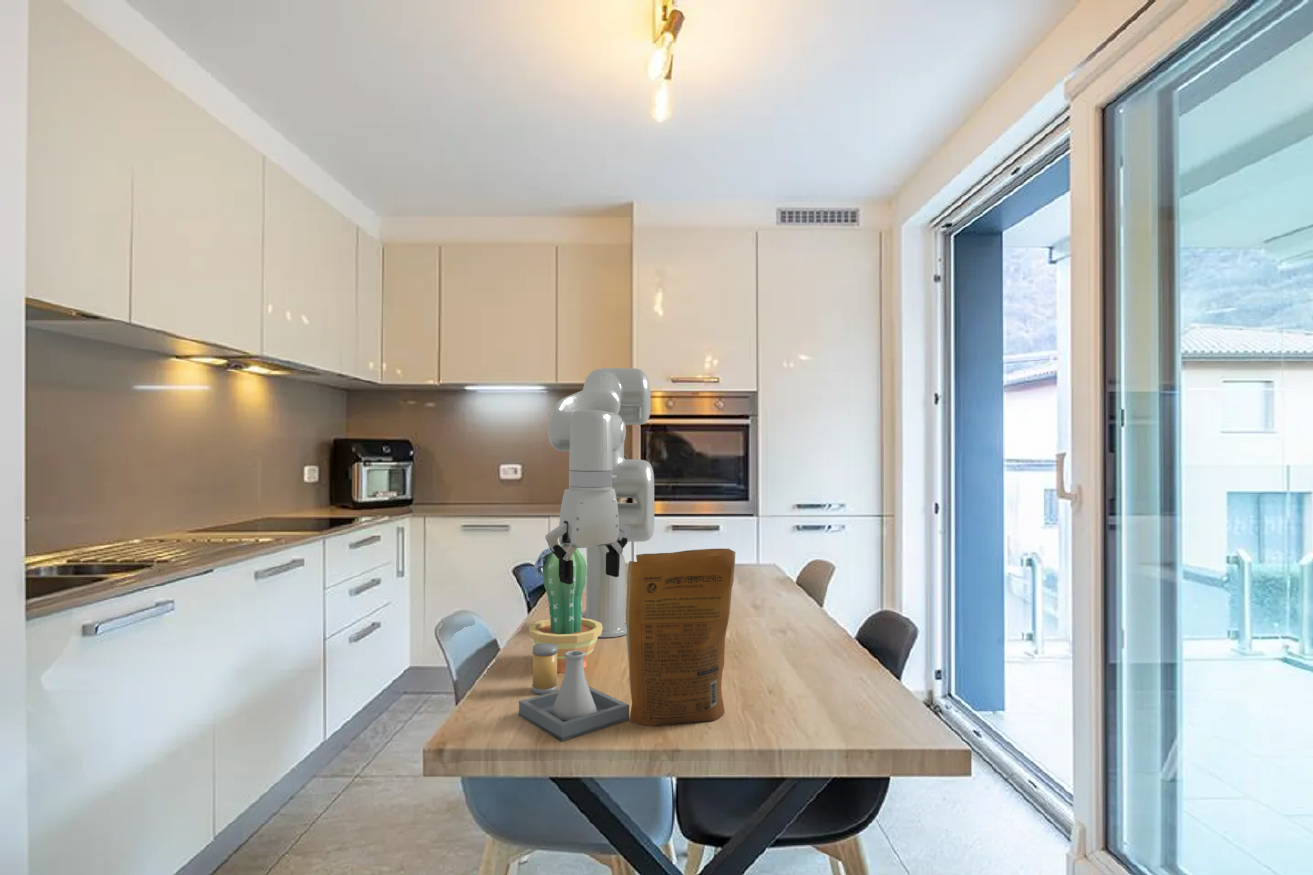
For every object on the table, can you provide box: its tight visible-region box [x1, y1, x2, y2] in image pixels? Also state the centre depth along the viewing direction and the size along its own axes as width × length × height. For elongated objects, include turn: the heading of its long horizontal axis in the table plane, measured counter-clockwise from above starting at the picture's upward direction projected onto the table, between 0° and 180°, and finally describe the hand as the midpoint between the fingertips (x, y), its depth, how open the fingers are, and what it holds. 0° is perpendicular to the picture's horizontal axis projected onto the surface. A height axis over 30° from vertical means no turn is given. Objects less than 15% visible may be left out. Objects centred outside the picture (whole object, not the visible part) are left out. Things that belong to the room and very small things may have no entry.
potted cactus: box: [528, 543, 603, 673], centre depth 136 cm, size 15×15×25 cm
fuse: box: [531, 643, 558, 696], centre depth 121 cm, size 5×5×8 cm
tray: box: [518, 685, 630, 743], centre depth 108 cm, size 13×13×2 cm
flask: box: [551, 650, 597, 721], centre depth 108 cm, size 7×7×10 cm
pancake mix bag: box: [625, 548, 736, 727], centre depth 108 cm, size 7×19×28 cm, turn 104°
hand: (589, 579), depth 114 cm, fingers open, 9 cm apart
